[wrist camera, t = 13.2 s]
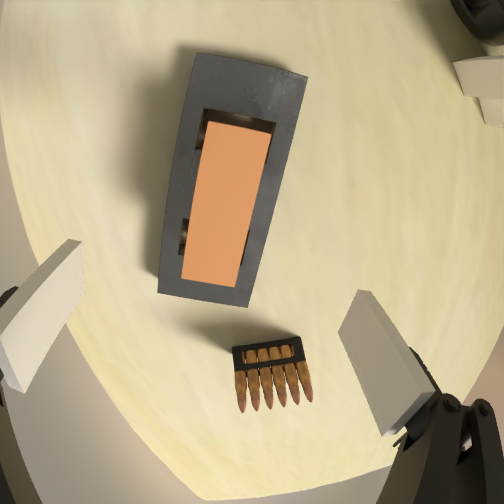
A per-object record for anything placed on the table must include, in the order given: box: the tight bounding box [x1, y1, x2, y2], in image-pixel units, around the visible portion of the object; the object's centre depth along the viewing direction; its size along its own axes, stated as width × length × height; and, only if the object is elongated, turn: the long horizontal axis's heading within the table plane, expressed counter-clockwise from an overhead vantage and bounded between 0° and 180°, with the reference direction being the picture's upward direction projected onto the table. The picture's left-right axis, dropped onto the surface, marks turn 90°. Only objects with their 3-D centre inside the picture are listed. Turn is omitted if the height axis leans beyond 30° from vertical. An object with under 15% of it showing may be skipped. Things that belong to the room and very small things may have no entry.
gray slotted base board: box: [157, 53, 308, 308], centre depth 32 cm, size 28×12×3 cm, turn 167°
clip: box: [181, 121, 271, 287], centre depth 29 cm, size 14×5×10 cm, turn 167°
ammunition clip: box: [232, 337, 313, 413], centre depth 39 cm, size 11×2×12 cm, turn 97°
